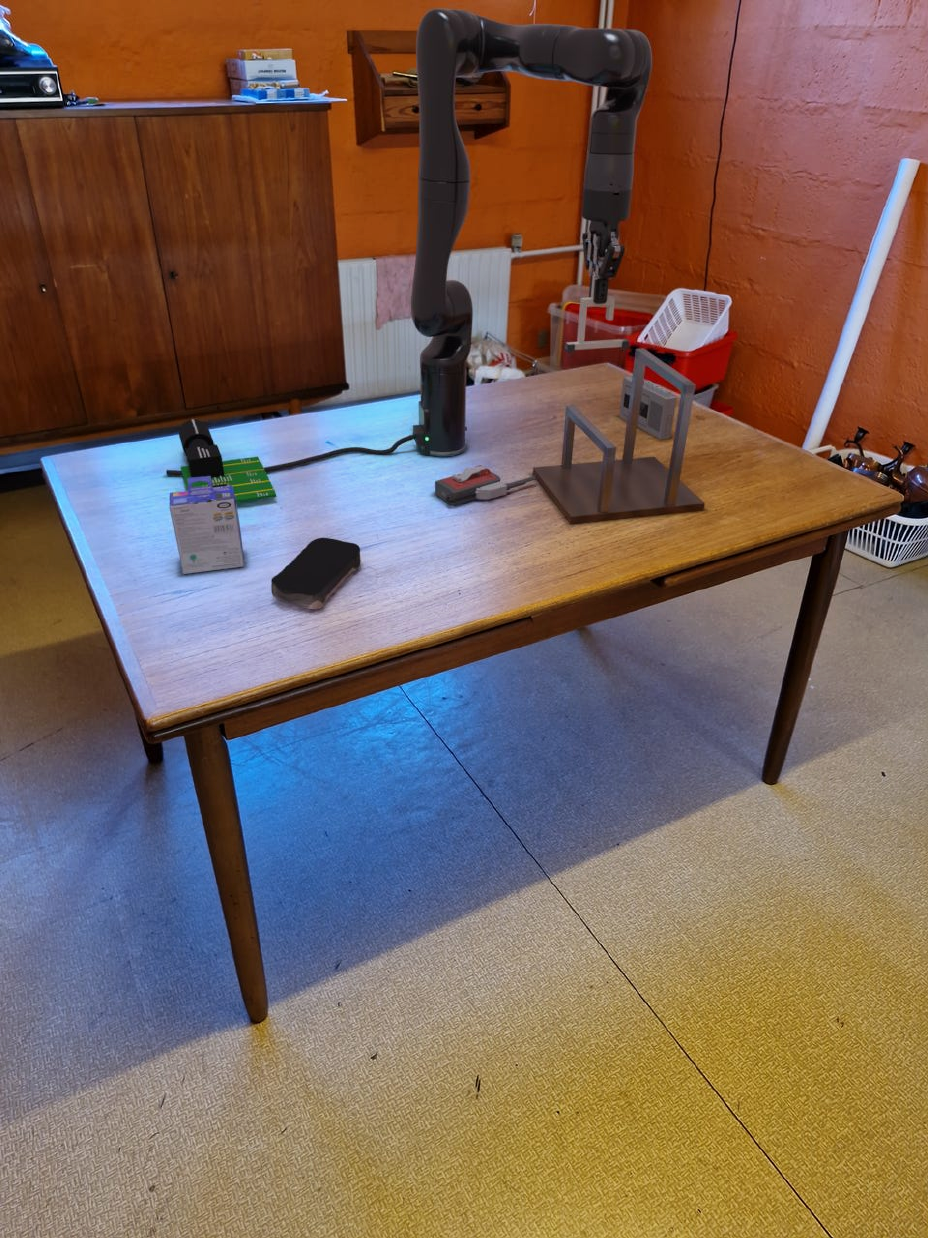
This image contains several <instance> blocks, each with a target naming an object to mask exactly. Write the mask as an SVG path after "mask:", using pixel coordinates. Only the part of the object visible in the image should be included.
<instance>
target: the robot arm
mask: <svg viewBox="0 0 928 1238" xmlns="http://www.w3.org/2000/svg"><path fill="white" fill-rule="evenodd" d="M416 32H417V33H416V39H415V63H416V64H415V65H416V79H417V93H418V95H417V96H418V113H419V114H418V117H419V118H418V119H419V120H418V121H419V122H418V124H419V125H418V126H419V127H418V132H419V133H418V135H419V136H418V138H419V139H418V142H419V147H418V150H419V151H418V172H417V173H418V174H417V176H418V177H417V227H416V248H415V260H414V269H413V276H412V277H413V278H412V287H411V293H410V295H411V296H410V315H411V319H412V322H413V325H414V327H415V329H416V330H417V332H418V333H419V334H421V335H422V336H424V337H426V338H431V341H430V342H429V343H428V345H426V347H424V349H423V350H422V351H421V353H420V356H419V370H420V371H419V372H420V373H419V374H420V375H419V376H420V377H419V378H420V400H419V401H418V403H417V404H418V405H417V406H418V424H413V425H412V434H410V435H407V436H405V437H403V438H400V439H399V440H397V441H395V443H394V444H393V445H392V446H391V447H389V448H386V449H373V448H369V447H362V446H351V447H350V446H349V447H343V448H338V449H335V450H332V451H331V450H330V451H328V452H325V453H321V454H316V455H314V456H313V455H312V456H309V457H305V458H302V459H298V460H295V461H294V460H293V461H290V462H285V463H280V464H274V465H271V466H263V468H264V470H265V472H266V473H270V472H276V471H280V470H286V469H289V468H294V467H298V466H301V465H302V466H303V465H305V464H309V463H313V462H317V461H320V460H324V459H328V458H331V457H335V456H337V455H342V454H348V453H364V454H370V455H378V456H385V455H389V454H392V453H394V452H395V451H396V450H397V449H398V447H400V446H401V445H403V444H405V443H408V442H410V441H414V443H415V444H416V446H417V447H420V450H421V452H422V453H423V455H424V456H434V457H452V456H453V457H454V456H457V455H460V454H462V453H464V452H465V451H466V447H467V444H466V432H467V431H468V430H467V429H468V427H467V426H466V416H467V415H466V411H467V410H466V409H467V408H466V407H467V403H466V402H467V360H468V358H469V355H470V354H471V353H470V352H471V347H472V334H473V316H474V307H473V301H472V296H471V294H470V292H469V289H468V288H467V287H466V286H465V284H464V283H462V282H461V281H459V280H456V279H448V268H449V262H450V258H451V254H452V251H453V250H454V246H455V244H456V243H457V240H458V238H459V236H460V233H461V231H462V228H463V226H464V224H465V221H466V218H467V215H468V212H469V206H470V198H471V197H470V195H471V180H472V179H471V176H472V175H471V163H470V158H469V156H468V152H467V149H466V146H465V143H464V140H463V138H462V135H461V132H460V129H459V125H458V122H457V117H456V109H455V108H456V107H455V103H456V100H455V95H456V79H457V78H467V77H468V76H472V75H473V76H474V75H477V74H483V73H490V72H511V73H516V74H521V75H523V76H526V77H530V78H534V79H539V80H545V81H556V82H565V83H566V82H567V83H572V82H574V83H578V84H581V85H587V86H592V87H598V88H606V90H605V91H606V92H605V96H604V99H603V102H602V105H600V106H599V107H597V108H596V109H595V110H594V111H593V112H592V114H591V115H590V119H589V129H588V142H587V154H586V160H585V165H584V173H583V174H584V175H583V185H582V186H583V187H582V200H581V215H580V216H581V217H582V219H584V220H586V221H590V223H589V227H588V232H583V233H582V235H581V240H582V241H581V242H582V249H583V258H584V268H585V270H586V271H588V276H589V289H588V297H591V288H592V276H593V272H595V279H596V280H595V282H594V294H593V302H594V303H595V304H604V303H606V302H607V296H609V295H608V293H609V283H610V280H612V279H615V278H616V277H617V274H618V271H619V268H620V266H621V263H622V260H623V257H624V254H625V252H626V246H625V244H619V243H620V222H623V221H626V220H628V219H629V217H630V214H631V213H630V211H631V203H632V195H633V194H632V193H633V183H634V173H635V146H636V137H637V136H636V135H637V123H638V119H639V115H640V113H641V110H642V107H643V104H644V100H645V96H646V93H647V90H648V86H649V83H650V78H651V74H652V67H653V54H652V53H653V52H652V47H651V44H650V43H651V42H650V41H649V38H647V36H646V34H645V33H643V32H642V31H640V30H637V29H627V28H626V29H625V28H583V27H580V26H577V25H569V24H568V25H566V24H554V23H553V24H550V23H535V24H534V23H533V24H532V23H531V24H510V23H504V22H499V21H496V20H493V19H491V18H488V17H485V16H482V15H479V14H476V13H473V12H471V11H468V10H466V9H459V8H457V9H456V8H441V7H439V8H438V7H437V8H432V9H430V10H428V11H427V12H426V13H424V15H423V16H422V18H421V20H420V22H419V26H418V28H417V31H416ZM447 279H448V280H447ZM417 447H416V448H417ZM166 476H176V477H177V476H178V477H180V476H181V477H183V475H182V472H181V470H177V469H174V470H173V469H166Z"/></svg>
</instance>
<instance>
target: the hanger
mask: <svg viewBox="0 0 928 1238" xmlns="http://www.w3.org/2000/svg"><path fill="white" fill-rule="evenodd" d="M595 280H596V279H595V272H593V276H592V288H591V297H589V296H587V297H580V301H579V302H580V303H579V313H578V326H577V339H576V341H565V342H564V348H563V349H564V351H565V352H566V353H567V354H575V352H576V351H579V350H580V351H581V350H582V351H583V350H596V349H597V350H598V349H615V348H619V349H620V350H622V351H628V350H629V349H630V347H629V346H630V341H629V340H628V339H627V338H618V339H602V340H601V339H600V340H587V341H585V337H586V325H587V324H586V323H587V314H588V313H587V312H588V311H587V310H588V308H592V307H594V308H595V307H606V309H605V319H606V320H607V321H613V320H614V312H615V302H616V298H615V297H614V296H613V295H610V296H609V295H607V302H606V303H604V304H595V303H594V302H593V294H594V282H595Z"/></svg>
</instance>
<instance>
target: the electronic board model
mask: <svg viewBox="0 0 928 1238" xmlns="http://www.w3.org/2000/svg"><path fill="white" fill-rule="evenodd" d="M178 437H179V440H180V444H181V447H182V450H183V453H184V456H185V457H186V461H187V465H183V466H179V467H180V471H181V472H182V475H183V476H182V479H183V482H184V485H185V489H186V491H188V481H187V478H192V477H203V476H211V481H212V486H213V488H214V487H222V486H230V485H232V487H233V491H234V495H235V500H236V504H238V503H243V502H244V503H245V502H252V501H258V500H265V499H273V498H277V493H276V491H275V488H274V487H273V485H272V482H271V480H270V479H269V476H268V474H267V472H265V470H264V466H263V463H262V461H261V460H260V458H259V456H252V457H251V456H250V457H244V458H243V457H242V458H236V459H235V458H234V459H229V460H228V459H227V460H223V457H222V456H223V455H222V453H221V451H220V448H219V446H218V444H215V442H214V439H213V436H212V434H211V432H210V429H209V427H208V425H207V424H206V423H204V422H203V421H202V420H200V419H193V418H192V419H188V420H186V421H184V422H183V423H182V424H181V425H180V427H179V430H178ZM191 486H192V487H203V486H208V483H207V482H203V481H198V482H195V483H193V484H192V485H191Z"/></svg>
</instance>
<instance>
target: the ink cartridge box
mask: <svg viewBox="0 0 928 1238" xmlns="http://www.w3.org/2000/svg"><path fill="white" fill-rule="evenodd" d="M187 481H188V491H187V490H182V491H175V492H169V503H168V504H169V507H168V508H169V512H170V516H171V522H172V527H173V532H174V537H175V540H176V541H175V542H176V547H177V551H178V556H179V562H180V567H181V573H182V575H189V574H195V573H203V572H209V571H216V570H217V571H218V570H227V569H234V568H241V567H245V557H244V548H243V538H242V532H241V524H240V518H239V512H238V506H237V503H236V500H235V495H234V491H233V487H232V485H230V486H222V487H214V488H213V486H212V481H211V476H203V477H192V478H187ZM198 481H203V482H207V483H208V486H203V487H192V486H191V485H192V484H193V483H195V482H198Z"/></svg>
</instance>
